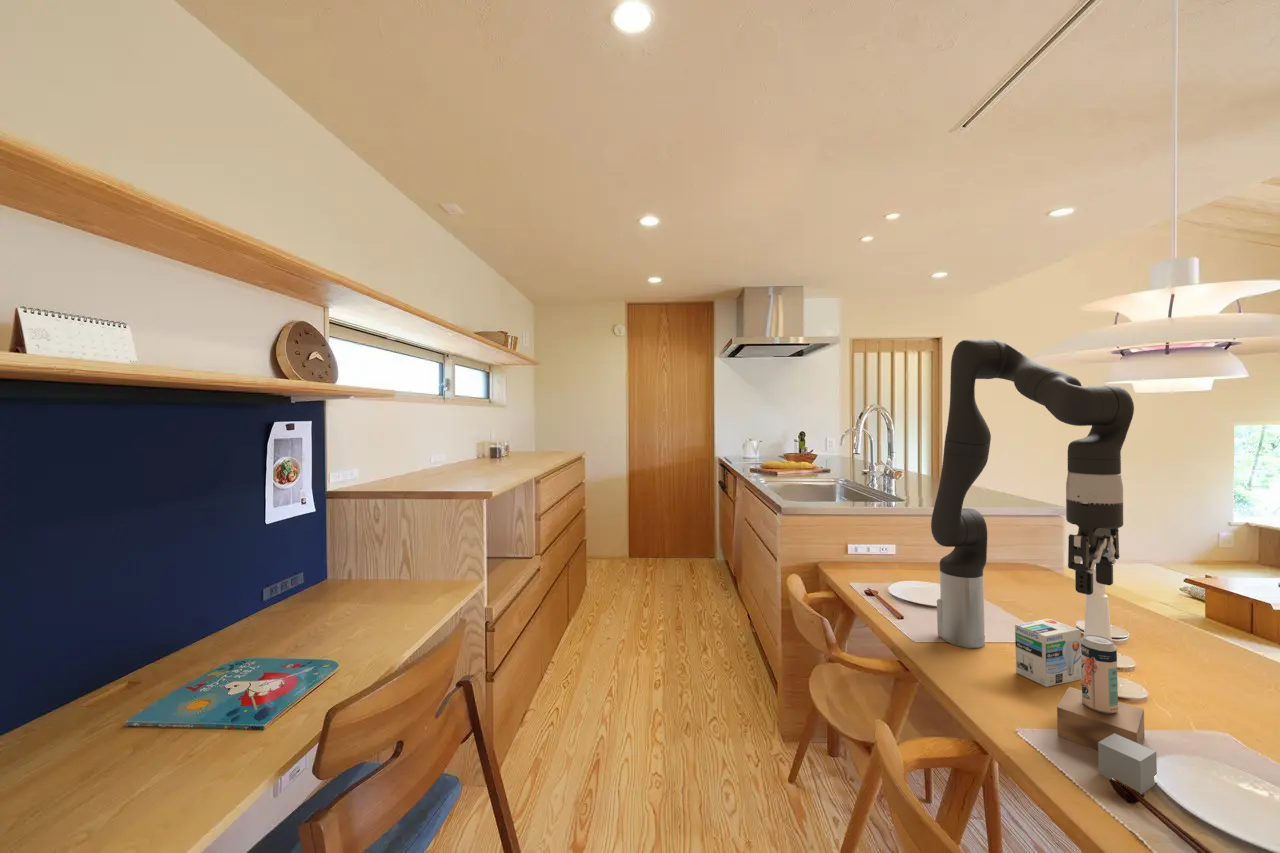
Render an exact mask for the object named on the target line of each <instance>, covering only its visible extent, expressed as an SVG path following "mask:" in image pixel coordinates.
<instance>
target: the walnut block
mask: <svg viewBox="0 0 1280 853" xmlns="http://www.w3.org/2000/svg"><path fill="white" fill-rule="evenodd" d="M1056 715H1057V716H1056V717H1057V718H1056V720H1057V721H1056V722H1057V725H1056V726H1057V736H1058V737H1061V738H1064V739H1067V740H1069V741H1072V742H1076V743H1078V744H1081V745H1082V746H1083V745H1084V746H1087V747H1089V748H1092V749H1094V750H1097V751H1098V742H1099V741H1101V740H1103V739H1105V738H1107V737H1108V736H1110V735H1112V734H1114V733H1115V734H1117V735H1119V736H1122V737H1124V738H1126V739H1129V740H1131V741H1133V742H1136V743H1138V744H1140V745H1143V744H1144V742H1145V710H1144V708H1142V707H1139V706H1136V705H1132V704H1128V703H1125V702H1121V701H1119V700H1118V711H1117V712H1115V713H1109V714H1108V713H1101V712H1098V711H1095V710H1093V709H1091V708H1089V707H1088V706H1087V705H1085V704H1084V703H1083V702H1082V689H1078V688H1075V687H1071V686H1068V688H1067V689H1066V691H1065V693H1064V694H1063V696H1062V697H1061V700H1060V701H1059V703H1058V705H1057V706H1056ZM1143 746H1144V745H1143Z"/></svg>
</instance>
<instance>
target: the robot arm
mask: <svg viewBox="0 0 1280 853" xmlns="http://www.w3.org/2000/svg"><path fill="white" fill-rule="evenodd" d="M951 355H952V356H951V362H950V384H949V385H950V387H949V388H950V390H949V391H950V392H949V409H948V418H947V426H946V432H945V436H944V437H945V438H944V446H943V459H942V465H941V473H940V478H939V484H938V490H937V494H936V498H935V502H934V506H933V510H932V515H931V520H930V528H931V529H930V530H931V534H932V537H933V540H934V541H935V542H936V543H937V544H938V545H940V546H942V547H945V548H946V547H947V548H948V547H949V548H950V547H951V548H952V547H954V548H953V549H952V551H951V552H950V553H948V554H947V555H945V556H944V557H942V558H940V560H939V582H940V583H939V584H940V586H939V587H940V589H939V590H940V598H938V599H937V600H936V617H937V618H936V620H937V622H936V623H937V626H936V627H937V637H938V636H940V637H939V638H941V637H942V638H943V639H942V638H941V639H942V640H943V641H945V640H946V641H947V643H948V642H949V643H948V644H951V645H953V646H958V647H961V648H966V649H967V648H968V649H977V648H979V649H980V648H983V647H984V646H985V645H986V635H985V632H986V631H985V600H984V598H985V596H984V594H985V593H984V568H985V566H986V564H987V560H988V558H987V557H988V556H987V554H988V553H987V552H988V528H987V523H986V519H985V518H984V516H983V515H982V514H981V512H979V511H978V510H976V509H973V508H968V507H967V508H963V504H964V501H965V498H966V495H967V493H968V491H969V489H970V488H971V487H972V485H973V484H974V482H975V481H976V480H977V479H978V478H979V476H980V475H981V473H982V472H983V471H984V469H985V467H986V465H987V463H988V460H989V453H990V448H991V440H992V436H991V432H990V427H989V426H988V424H987V422H986V420H985V419H984V416H983V415H982V413H981V411H980V409H979V408H978V405H977V403H976V402H977V401H976V397H975V396H976V395H975V394H976V393H975V390H976V389H975V386H976V380H992V379H1001V380H1006V381H1009V382H1013V384H1014V387H1015V390H1017V392H1019V393H1020V395H1022V396H1023V397H1025V398H1026V399H1029V400H1031V401H1033V402H1035V403H1037V404H1038V405H1041V406H1043V407H1044V408H1046V410H1048V412H1050V414H1051V415H1052V416H1053V417H1054V418H1055V419H1056V420H1058V421H1059V422H1060V423H1061V422H1062V423H1064V424H1067V425H1071V426H1074V427H1075V426H1078V427H1079V426H1080V427H1085V426H1086V427H1087V426H1088V427H1089V426H1091V428H1090V429H1089V430H1090V431H1089V433H1088V435H1086V436H1085V437H1083V438H1078V439H1075V440H1073V441H1071V442H1070V443H1069V444H1068V446H1067V476H1066V482H1065V508H1066V509H1065V514H1066V515H1065V519H1066V522H1067V523H1069V524H1072V525H1075V526H1077V527H1078V531H1077V534H1072V533H1070V534H1068V537H1067V538H1068V552H1067V555H1068V556H1067V567H1068V569H1070V570H1073V571H1075V572H1074V573H1075V574H1074V575H1075V584H1074V585H1075V586H1074V587H1075V592H1077V593H1079V594H1083V595H1086V594H1087V595H1090V594H1092V593H1093V570H1094V567H1096V582H1097V583H1100V584H1104V585H1105V586H1111V585H1113V584H1114V565H1115V563H1116V560H1119V558H1120V543H1119V542H1120V541H1119V540H1120V539H1119V538H1120V537H1119V535H1120V534H1119V533H1120V532H1119V531H1120V530H1119V529H1120V528H1122V527H1123V526H1124V485H1123V479H1122V460H1121V459H1122V457H1121V456H1122V455H1121V454H1122V453H1121V452H1122V448H1123V445H1124V443H1125V441H1126V438H1127V435H1128V432H1129V429H1130V426H1131V423H1132V420H1133V417H1134V412H1135V405H1134V401H1133V398H1132V396H1131V394H1130V393H1129V392H1128V391H1127V390H1126V389H1125V388H1123V387H1121V386H1118V385H1088V386H1087V385H1085V386H1084V385H1082V383H1081V381H1080V380H1079V379H1078V378H1077V377H1075V376H1073V375H1071V374H1069V373H1067V372H1064V371H1062V370H1058V369H1056V368H1053V367H1050V366H1047V365H1045V364H1042V363H1040V362H1037V360H1034V359H1032V358H1030V357H1029V356H1027V355H1026V354H1024V353H1022V352H1021V351H1019V350H1018V349H1016V348H1015V347H1014V346H1012V345H1011V344H1009V343H1007V342H1005V341H1002V340H999V339H964V340H963V339H962V340H961V341H959V342H958V343H957V344H956V346H955V347H954V349H953V352H952V354H951ZM1081 562H1082V563H1081ZM946 641H945V642H946Z"/></svg>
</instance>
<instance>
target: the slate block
mask: <svg viewBox="0 0 1280 853" xmlns="http://www.w3.org/2000/svg"><path fill="white" fill-rule="evenodd" d="M1097 753H1098V756H1097V757H1098V774H1099V775H1101V776H1103V777H1105V778H1107V779H1109V780H1111V779H1112V778H1114V779H1117V780H1119V781H1121V782H1122V783H1123V784H1126V785H1128V786H1130V787H1131V788H1133V789H1135V790H1136V791H1138V792H1139V793H1140V794H1139V793H1138V794H1139V795H1142V794H1145V793H1146V792H1147V791H1148V790H1150V789H1151V788H1153V787H1155V786H1156V785H1155V783H1154V776H1155V775H1156V774H1157V775H1158V769H1157V768H1158V767H1157V766H1158V765H1157V760H1158V758H1157V751H1156V750H1154V749H1153V748H1152V749H1151V748H1149V747H1147V746H1144V745H1140V744H1138V743H1136V742H1133V741H1131V740H1129V739H1126V738H1124V737H1122V736H1119V735H1117V734H1115V733H1114V734H1112V735H1110V736H1108V737H1107V738H1105V739H1103V740H1101V741H1099V742H1098V750H1097Z"/></svg>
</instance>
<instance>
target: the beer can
mask: <svg viewBox="0 0 1280 853" xmlns="http://www.w3.org/2000/svg"><path fill="white" fill-rule="evenodd" d="M1080 642H1081V690H1082V702H1083V703H1084V704H1085V705H1087V706H1088V707H1089V708H1091V709H1093V710H1095V711H1098V712H1101V713H1108V714H1109V713H1115V712H1117V711H1118V701H1119V698H1118V697H1119V696H1118V695H1119V694H1118V692H1119V691H1118V684H1119V683H1118V647H1117V646H1116V644H1115V643H1114V642H1113V639H1112V640H1110V639H1108V638H1105V637H1101V636H1097V635H1084V634H1083V636H1082V638H1081V640H1080Z"/></svg>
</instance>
